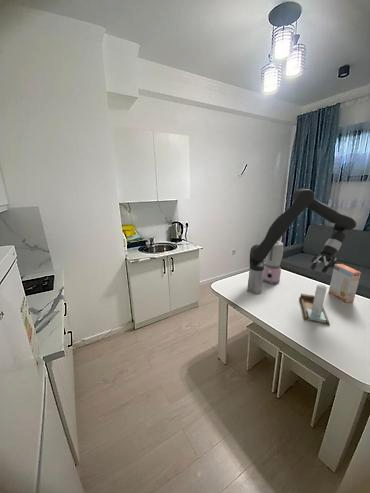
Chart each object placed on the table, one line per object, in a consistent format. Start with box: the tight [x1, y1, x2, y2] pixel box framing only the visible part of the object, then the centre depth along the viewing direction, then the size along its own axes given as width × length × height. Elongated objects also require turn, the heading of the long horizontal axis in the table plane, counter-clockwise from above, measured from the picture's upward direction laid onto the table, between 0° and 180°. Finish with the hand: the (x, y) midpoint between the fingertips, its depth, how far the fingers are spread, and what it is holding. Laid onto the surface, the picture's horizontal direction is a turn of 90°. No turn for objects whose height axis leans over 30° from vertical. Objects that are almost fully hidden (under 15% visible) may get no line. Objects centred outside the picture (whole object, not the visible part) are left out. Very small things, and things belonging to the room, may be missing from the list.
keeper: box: [306, 284, 328, 323], centre depth 111 cm, size 8×8×18 cm
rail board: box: [299, 293, 331, 326], centre depth 121 cm, size 12×24×4 cm, turn 157°
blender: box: [263, 240, 284, 285], centre depth 152 cm, size 16×12×32 cm
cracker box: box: [328, 263, 362, 304], centre depth 131 cm, size 14×6×21 cm, turn 4°
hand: (317, 270), depth 123 cm, fingers open, 8 cm apart
